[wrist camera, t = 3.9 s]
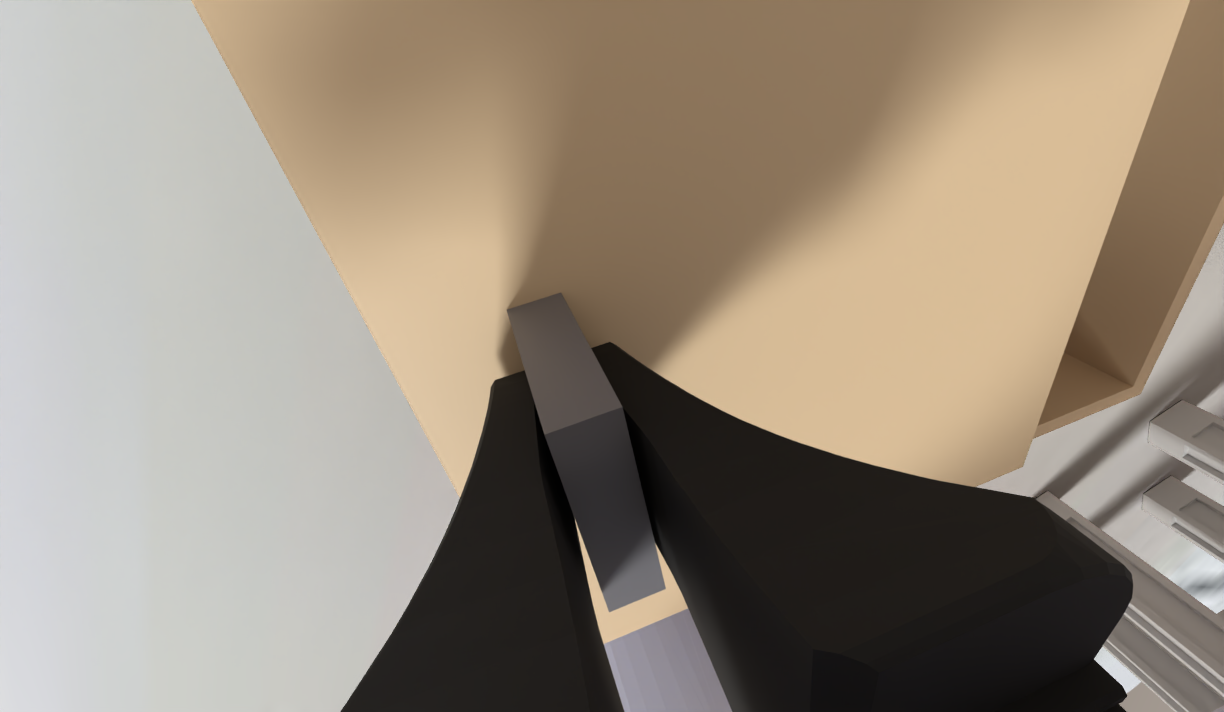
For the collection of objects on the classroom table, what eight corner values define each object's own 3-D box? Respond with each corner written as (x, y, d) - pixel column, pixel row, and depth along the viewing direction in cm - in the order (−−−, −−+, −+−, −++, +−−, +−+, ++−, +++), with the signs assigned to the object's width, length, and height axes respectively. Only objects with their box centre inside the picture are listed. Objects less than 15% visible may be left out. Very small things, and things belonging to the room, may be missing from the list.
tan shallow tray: (1011, 329, 23) (1140, 394, 19) (670, 458, 20) (731, 563, 16) (1187, -295, 13) (1551, -452, 9) (553, -177, 10) (637, -314, 6)
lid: (1006, 454, 18) (1140, 551, 15) (546, 646, 16) (580, 813, 12) (1297, -437, 8) (1985, -807, 4) (70, -260, 5) (-536, -768, 2)
